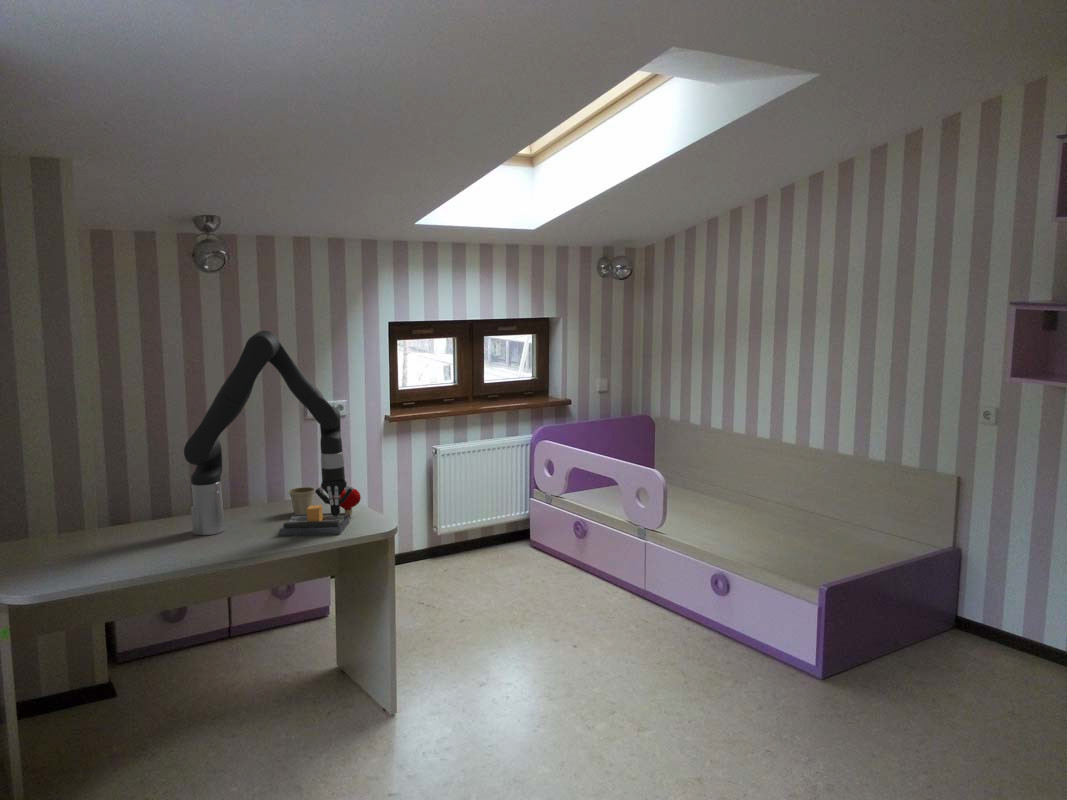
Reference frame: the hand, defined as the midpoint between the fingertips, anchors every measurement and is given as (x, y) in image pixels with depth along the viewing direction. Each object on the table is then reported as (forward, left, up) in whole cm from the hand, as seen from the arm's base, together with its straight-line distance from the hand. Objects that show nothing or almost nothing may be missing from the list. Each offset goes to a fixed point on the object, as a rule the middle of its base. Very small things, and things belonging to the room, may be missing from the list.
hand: (335, 515), depth 277 cm
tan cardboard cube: (-7, 0, -2) cm, 7 cm away
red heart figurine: (+1, +15, -5) cm, 16 cm away
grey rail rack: (-7, 0, -2) cm, 8 cm away
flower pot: (-17, +21, -5) cm, 28 cm away
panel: (-7, 0, -5) cm, 9 cm away
